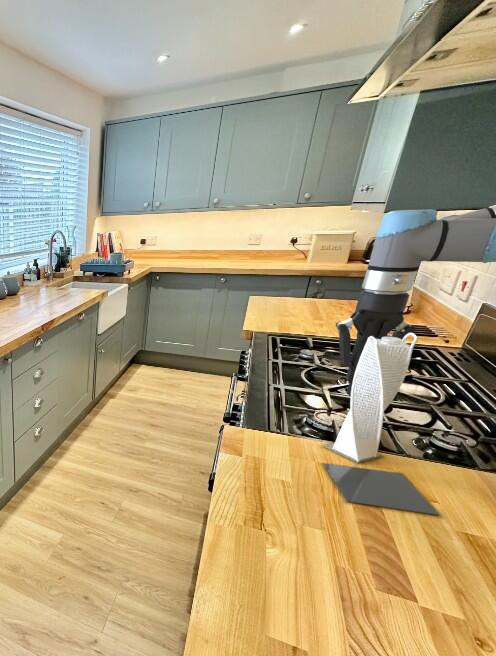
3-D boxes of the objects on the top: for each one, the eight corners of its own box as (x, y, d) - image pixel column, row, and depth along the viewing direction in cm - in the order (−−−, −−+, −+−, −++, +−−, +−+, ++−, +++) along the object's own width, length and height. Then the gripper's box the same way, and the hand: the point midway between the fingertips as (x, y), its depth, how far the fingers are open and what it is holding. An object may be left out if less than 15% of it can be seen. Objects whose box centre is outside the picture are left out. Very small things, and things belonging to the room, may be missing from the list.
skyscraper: (389, 459, 89) (436, 332, 78) (361, 467, 87) (405, 338, 76) (347, 441, 96) (384, 323, 86) (320, 447, 94) (355, 327, 84)
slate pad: (401, 474, 84) (401, 473, 84) (438, 515, 73) (439, 514, 73) (323, 464, 88) (323, 463, 88) (347, 502, 77) (347, 501, 77)
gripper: (353, 294, 84) (323, 399, 93) (437, 294, 80) (397, 405, 89) (339, 287, 91) (312, 386, 100) (416, 288, 86) (381, 391, 95)
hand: (352, 395), depth 94 cm, fingers closed
